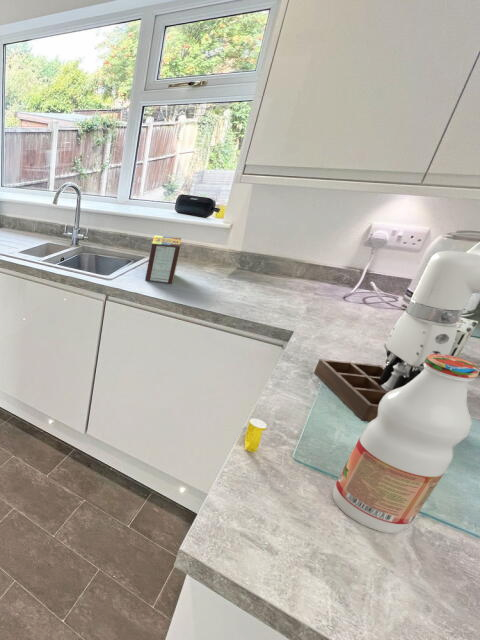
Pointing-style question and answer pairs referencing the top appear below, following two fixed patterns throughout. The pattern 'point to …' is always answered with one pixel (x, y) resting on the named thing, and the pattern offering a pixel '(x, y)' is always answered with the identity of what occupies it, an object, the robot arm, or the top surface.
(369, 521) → the fruit juice
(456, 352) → the candy bar box
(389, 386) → the rook chess piece
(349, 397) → the grid
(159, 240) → the protein box
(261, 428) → the yellow pill bottle
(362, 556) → the top surface
